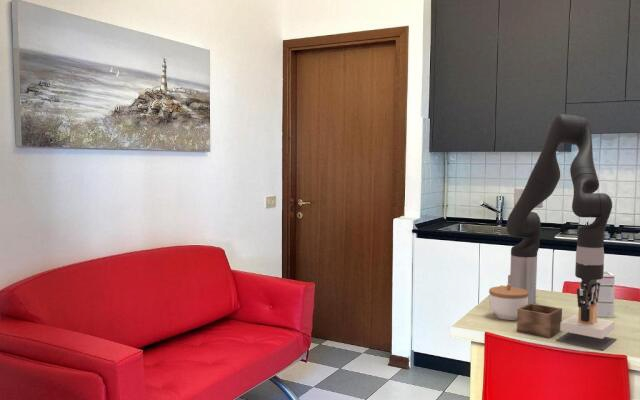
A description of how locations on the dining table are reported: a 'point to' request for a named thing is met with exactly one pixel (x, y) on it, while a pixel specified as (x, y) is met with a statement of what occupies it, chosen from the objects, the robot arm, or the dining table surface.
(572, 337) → the mat
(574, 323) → the lid
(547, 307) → the storage box
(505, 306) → the lidded bowl
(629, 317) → the dining table surface
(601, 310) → the syrup box
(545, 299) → the dining table surface
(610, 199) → the robot arm
